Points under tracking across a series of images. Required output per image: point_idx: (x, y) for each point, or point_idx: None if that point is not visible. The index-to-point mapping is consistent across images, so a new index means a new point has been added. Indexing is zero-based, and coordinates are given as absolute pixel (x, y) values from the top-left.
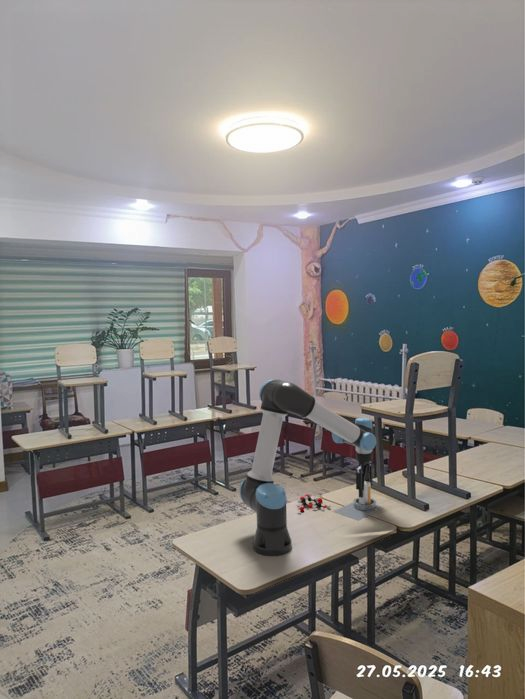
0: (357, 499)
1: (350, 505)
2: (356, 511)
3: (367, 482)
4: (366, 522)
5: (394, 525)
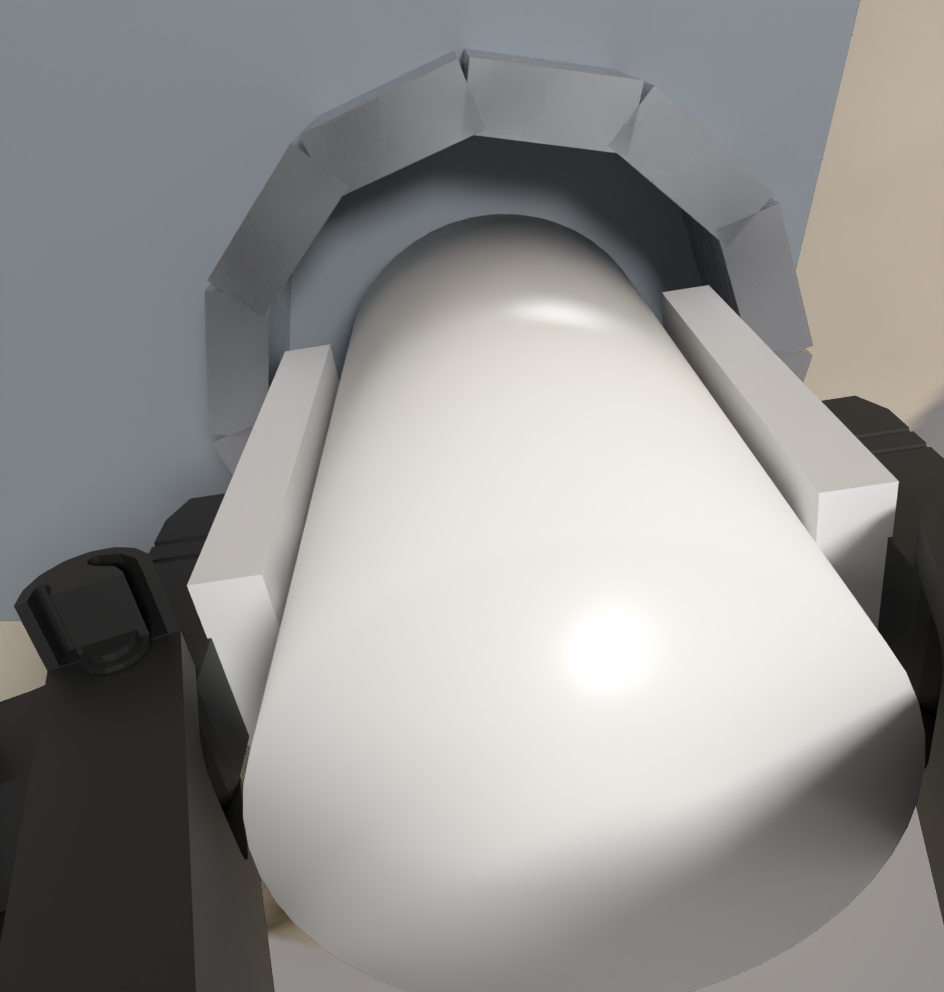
0: (524, 138)
1: (310, 5)
2: (126, 361)
3: (716, 883)
4: (17, 652)
5: (269, 909)
